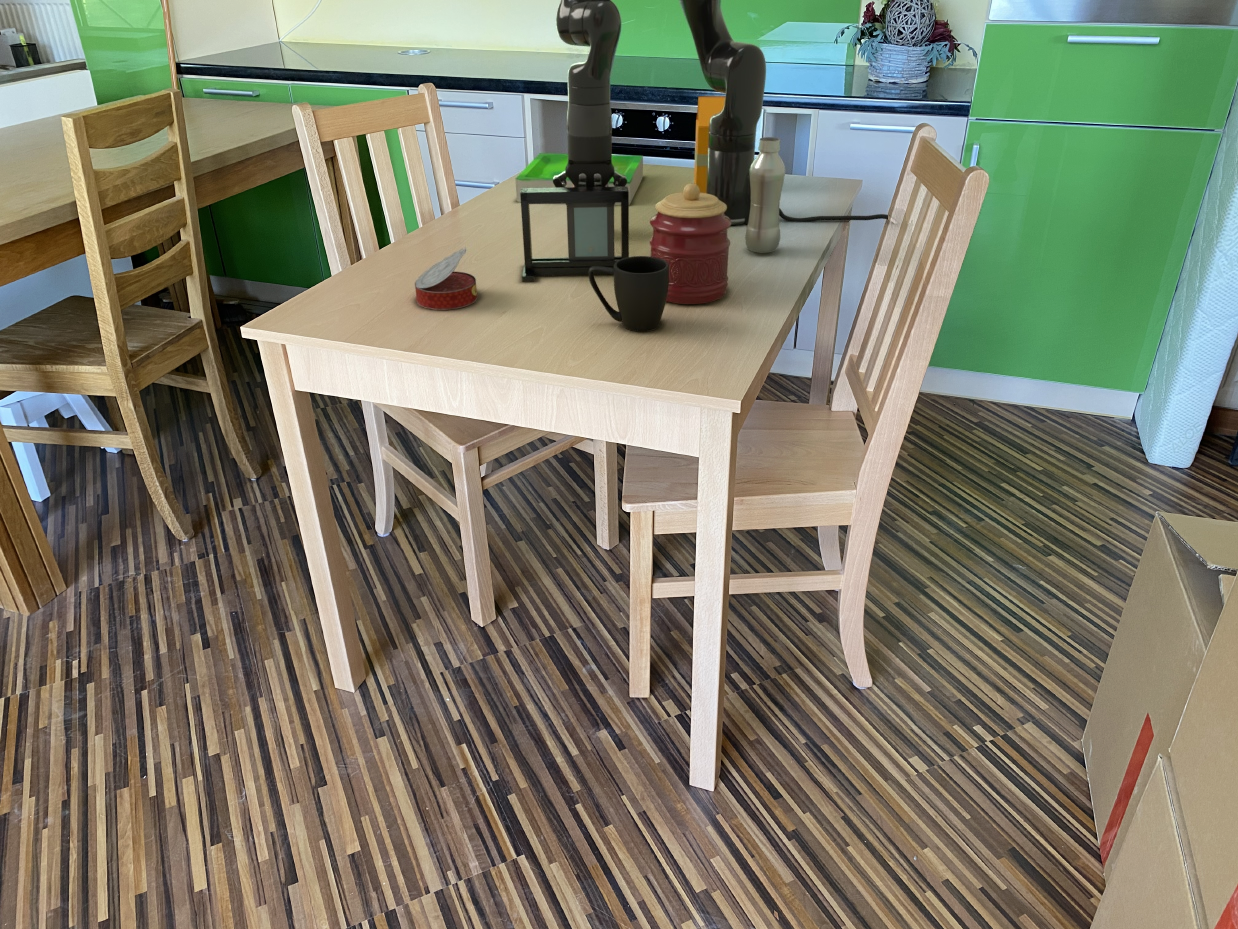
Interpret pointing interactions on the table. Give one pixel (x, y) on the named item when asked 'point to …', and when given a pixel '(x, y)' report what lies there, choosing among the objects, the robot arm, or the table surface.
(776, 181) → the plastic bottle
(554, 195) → the window frame
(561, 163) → the tray
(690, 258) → the kitchen canister
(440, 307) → the canned food
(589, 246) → the window pane
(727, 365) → the table surface
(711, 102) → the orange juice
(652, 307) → the mug
